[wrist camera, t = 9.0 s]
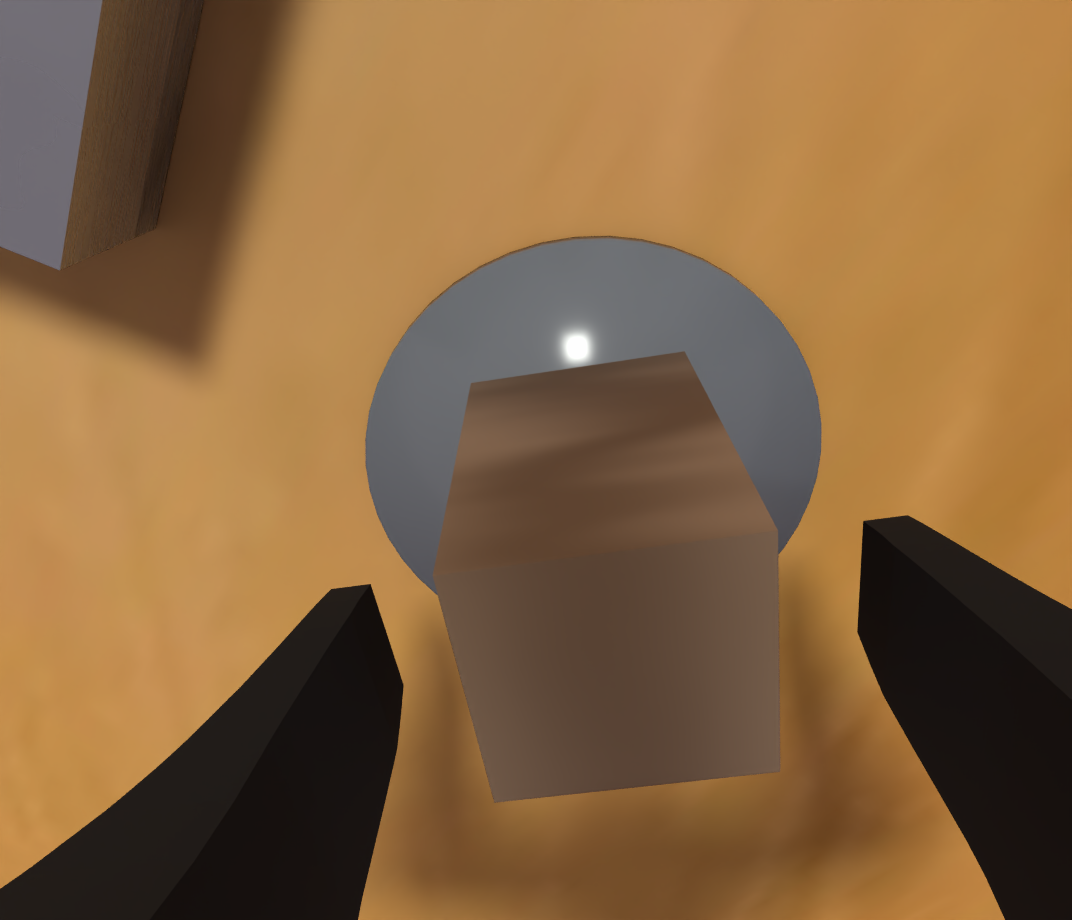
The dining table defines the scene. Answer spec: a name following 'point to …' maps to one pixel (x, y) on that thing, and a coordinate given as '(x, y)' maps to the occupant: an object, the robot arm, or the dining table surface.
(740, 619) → the block
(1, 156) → the grey square frame
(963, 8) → the dining table surface
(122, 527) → the dining table surface
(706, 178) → the dining table surface
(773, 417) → the coaster
